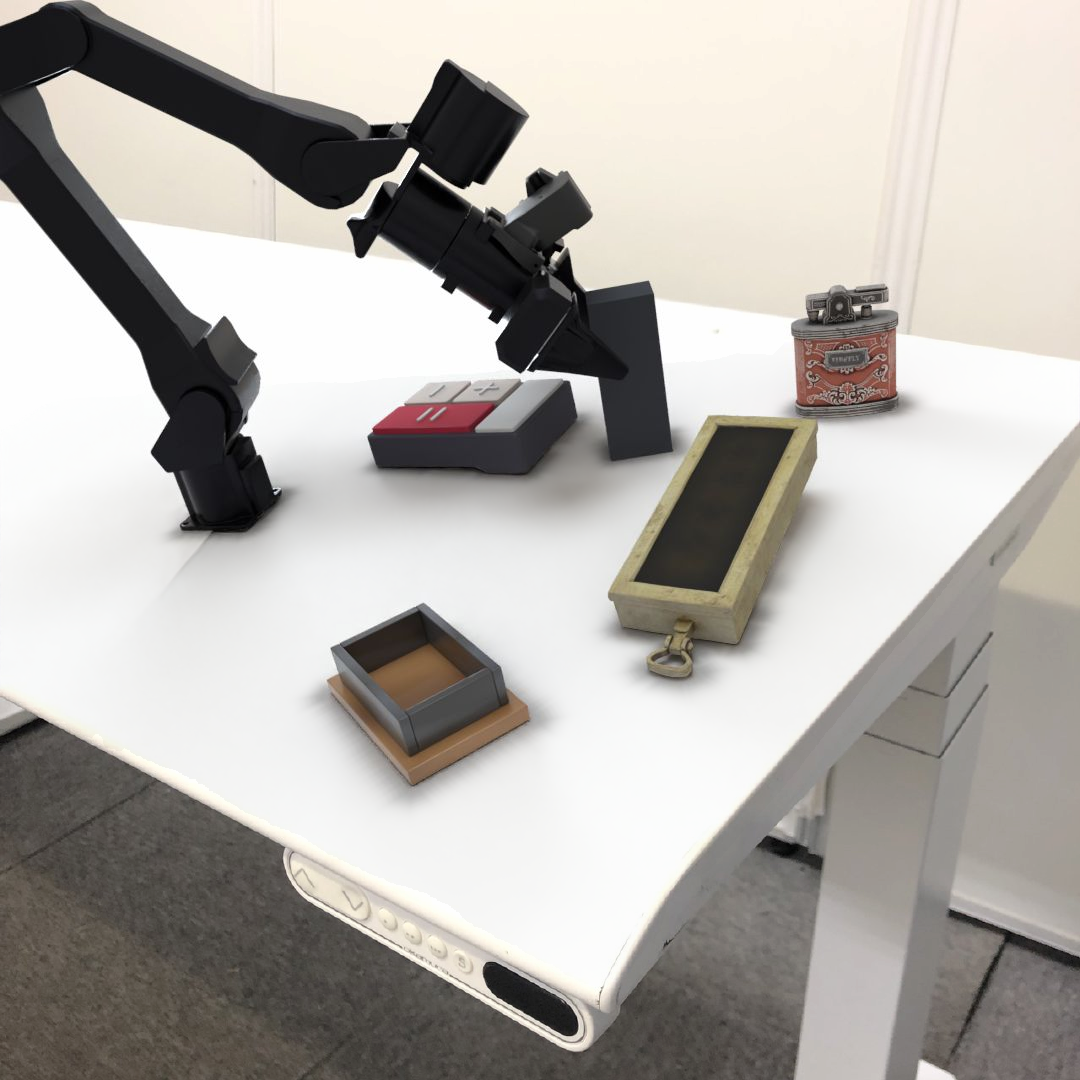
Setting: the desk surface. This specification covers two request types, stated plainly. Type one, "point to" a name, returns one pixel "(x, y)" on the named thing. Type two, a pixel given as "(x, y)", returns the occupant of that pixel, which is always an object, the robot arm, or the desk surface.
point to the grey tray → (423, 691)
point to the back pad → (632, 370)
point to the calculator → (476, 425)
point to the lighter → (845, 354)
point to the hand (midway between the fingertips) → (621, 353)
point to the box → (715, 533)
